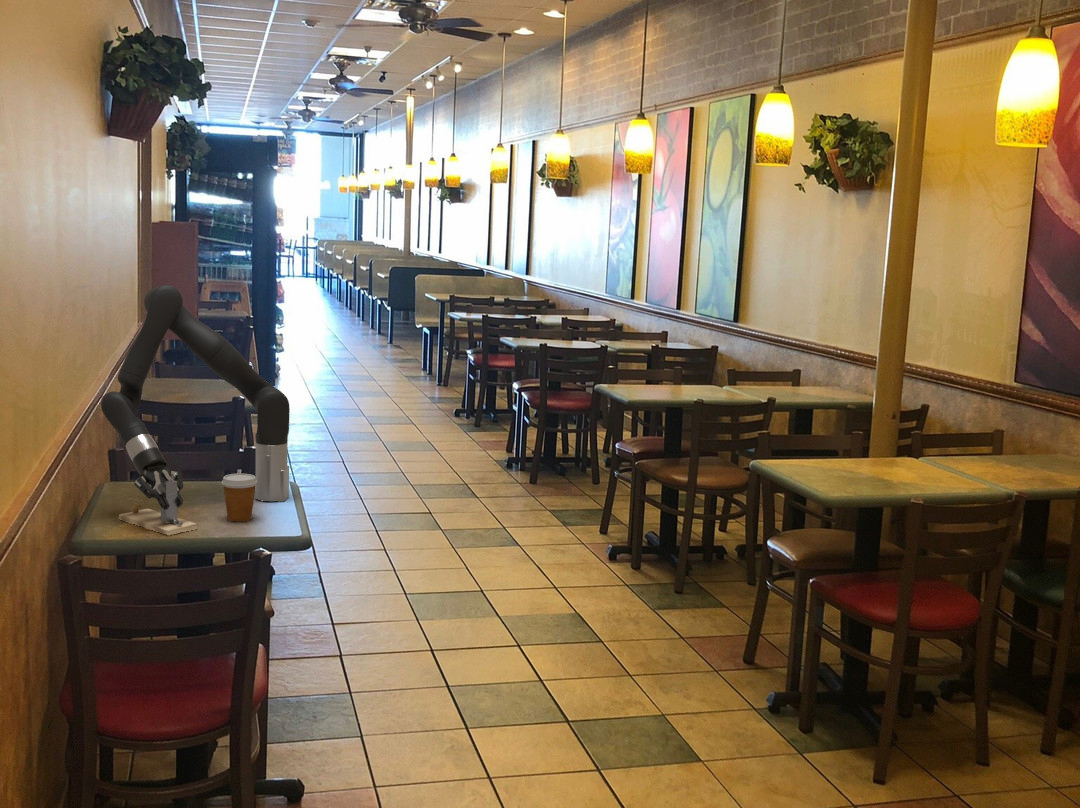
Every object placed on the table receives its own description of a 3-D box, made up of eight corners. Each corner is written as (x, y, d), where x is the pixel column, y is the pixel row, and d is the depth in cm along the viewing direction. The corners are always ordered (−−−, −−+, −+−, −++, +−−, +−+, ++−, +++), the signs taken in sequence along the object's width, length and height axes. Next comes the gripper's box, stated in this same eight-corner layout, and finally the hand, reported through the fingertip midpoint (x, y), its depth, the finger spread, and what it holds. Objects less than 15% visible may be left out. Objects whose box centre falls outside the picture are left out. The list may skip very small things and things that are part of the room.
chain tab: (186, 524, 282) (186, 484, 281) (175, 526, 280) (175, 486, 278) (166, 517, 287) (165, 478, 286) (154, 520, 285) (154, 480, 283)
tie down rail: (197, 529, 284) (197, 514, 284) (168, 536, 277) (168, 521, 276) (147, 513, 297) (147, 499, 296) (118, 520, 290) (118, 505, 289)
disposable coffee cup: (255, 523, 292) (255, 481, 290) (219, 523, 290) (219, 481, 289) (258, 514, 301) (258, 473, 299) (223, 514, 300) (223, 472, 298)
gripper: (127, 450, 279) (156, 503, 274) (173, 442, 291) (202, 494, 286) (116, 466, 283) (144, 519, 278) (162, 458, 295) (190, 509, 290)
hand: (173, 506), depth 282 cm, fingers closed on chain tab, 3 cm apart
